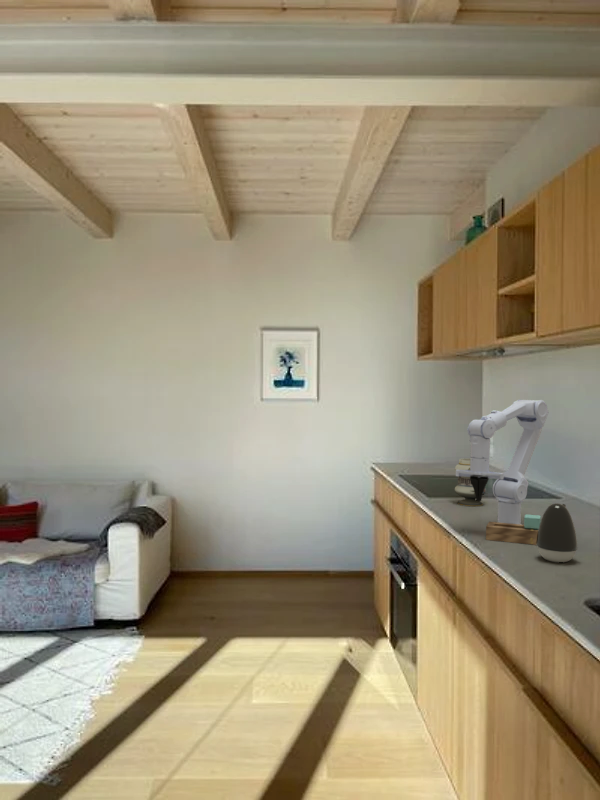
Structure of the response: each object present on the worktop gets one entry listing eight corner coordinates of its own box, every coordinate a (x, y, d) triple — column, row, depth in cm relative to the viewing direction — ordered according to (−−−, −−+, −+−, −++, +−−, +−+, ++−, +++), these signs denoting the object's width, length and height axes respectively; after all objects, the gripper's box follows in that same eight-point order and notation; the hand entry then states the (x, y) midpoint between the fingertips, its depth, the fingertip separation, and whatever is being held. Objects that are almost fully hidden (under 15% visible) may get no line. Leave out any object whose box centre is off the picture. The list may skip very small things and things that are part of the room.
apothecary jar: (464, 500, 255) (465, 456, 255) (491, 504, 247) (492, 459, 247) (448, 503, 247) (449, 458, 247) (475, 508, 238) (476, 461, 238)
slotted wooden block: (485, 539, 187) (486, 518, 187) (489, 534, 195) (489, 513, 195) (572, 548, 178) (572, 526, 178) (572, 542, 186) (572, 520, 185)
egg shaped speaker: (582, 559, 166) (583, 503, 166) (569, 567, 159) (570, 508, 158) (544, 552, 173) (545, 498, 173) (530, 560, 165) (531, 503, 165)
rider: (523, 534, 185) (524, 517, 185) (525, 531, 189) (525, 514, 189) (539, 536, 183) (540, 518, 183) (540, 532, 188) (540, 515, 188)
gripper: (454, 457, 195) (453, 500, 195) (502, 460, 189) (501, 504, 189) (458, 455, 201) (457, 497, 201) (504, 458, 196) (503, 501, 196)
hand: (478, 500), depth 196 cm, fingers closed
